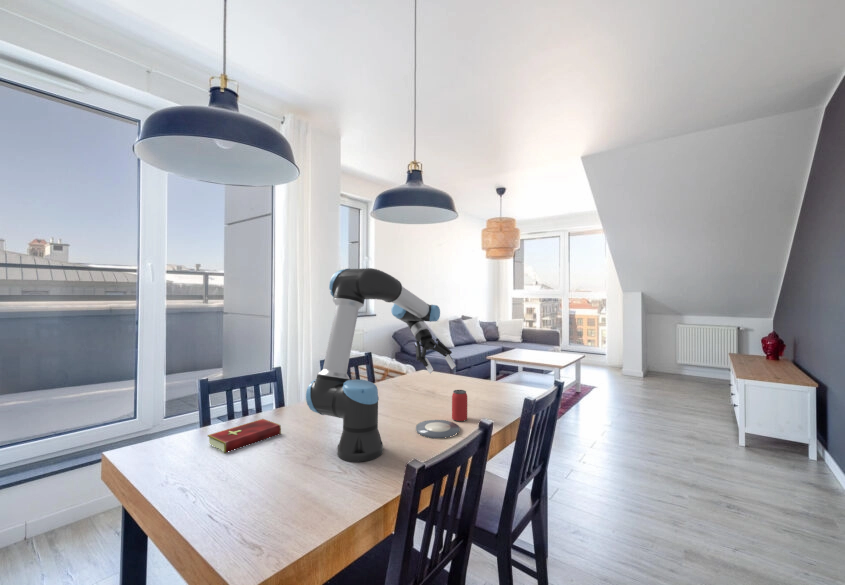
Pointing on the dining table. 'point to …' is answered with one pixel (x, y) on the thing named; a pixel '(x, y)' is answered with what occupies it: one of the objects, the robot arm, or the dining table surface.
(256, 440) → the hardcover book
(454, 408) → the beer can
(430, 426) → the plate
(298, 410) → the dining table surface
